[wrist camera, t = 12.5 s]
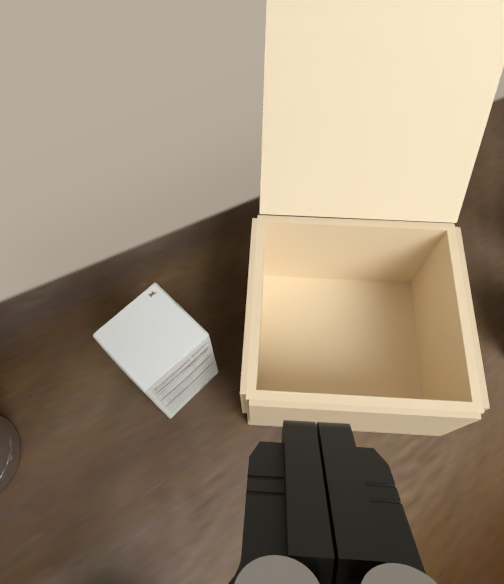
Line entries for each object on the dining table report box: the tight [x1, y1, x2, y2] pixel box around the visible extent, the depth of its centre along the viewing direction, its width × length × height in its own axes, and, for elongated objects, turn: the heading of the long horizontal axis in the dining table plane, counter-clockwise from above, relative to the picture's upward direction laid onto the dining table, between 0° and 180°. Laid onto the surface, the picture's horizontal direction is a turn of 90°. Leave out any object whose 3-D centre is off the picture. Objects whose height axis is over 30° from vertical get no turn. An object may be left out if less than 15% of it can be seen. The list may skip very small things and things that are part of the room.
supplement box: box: [93, 283, 218, 418], centre depth 45 cm, size 7×7×13 cm
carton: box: [240, 215, 490, 436], centre depth 46 cm, size 20×18×12 cm
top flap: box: [260, 0, 504, 223], centre depth 39 cm, size 19×18×1 cm
